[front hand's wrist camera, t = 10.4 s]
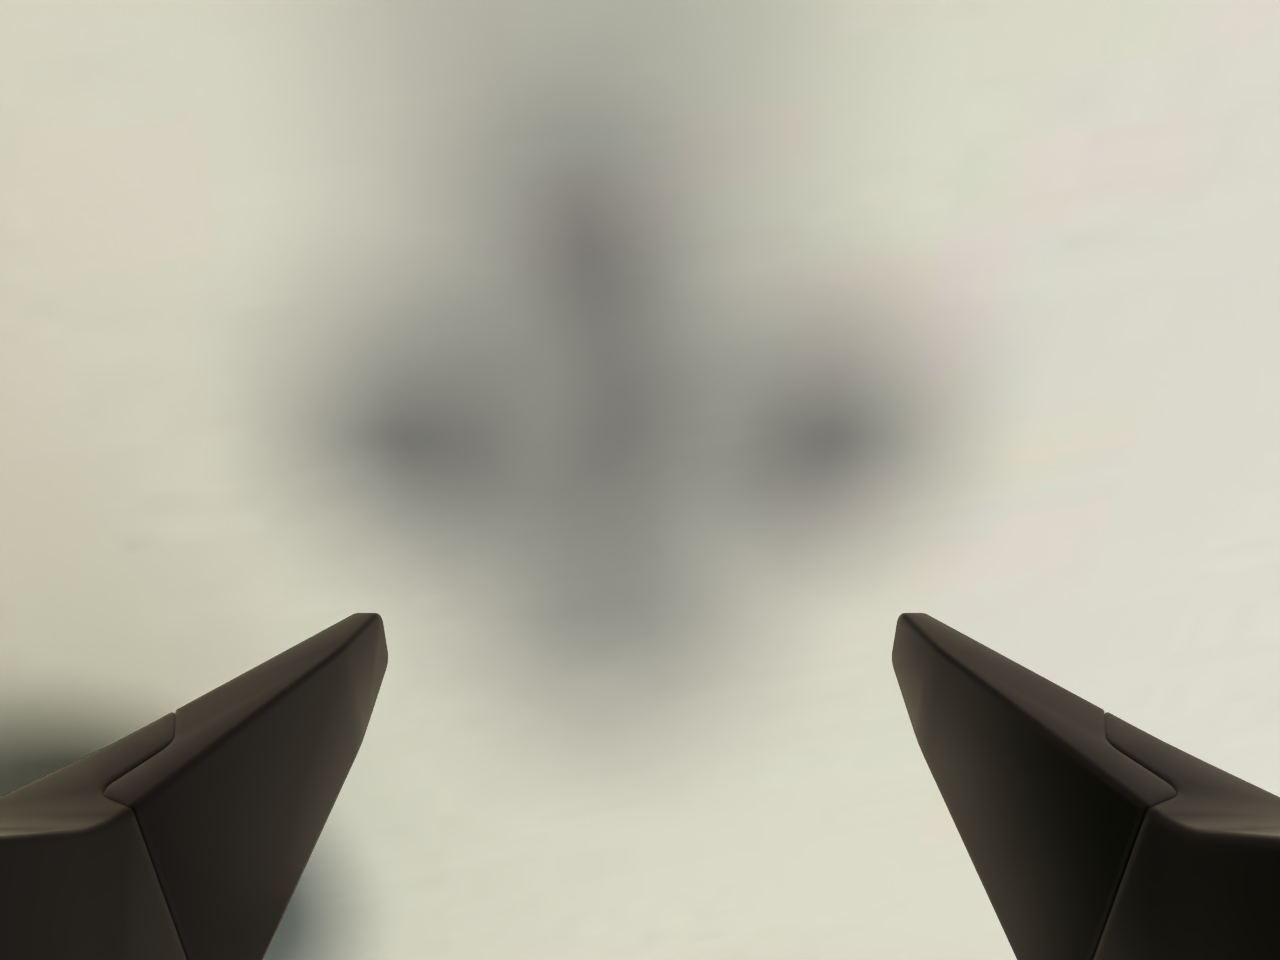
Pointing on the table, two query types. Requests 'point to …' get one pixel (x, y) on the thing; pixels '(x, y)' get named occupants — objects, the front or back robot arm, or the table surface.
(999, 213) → the table surface
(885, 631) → the table surface
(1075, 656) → the table surface
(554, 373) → the table surface
